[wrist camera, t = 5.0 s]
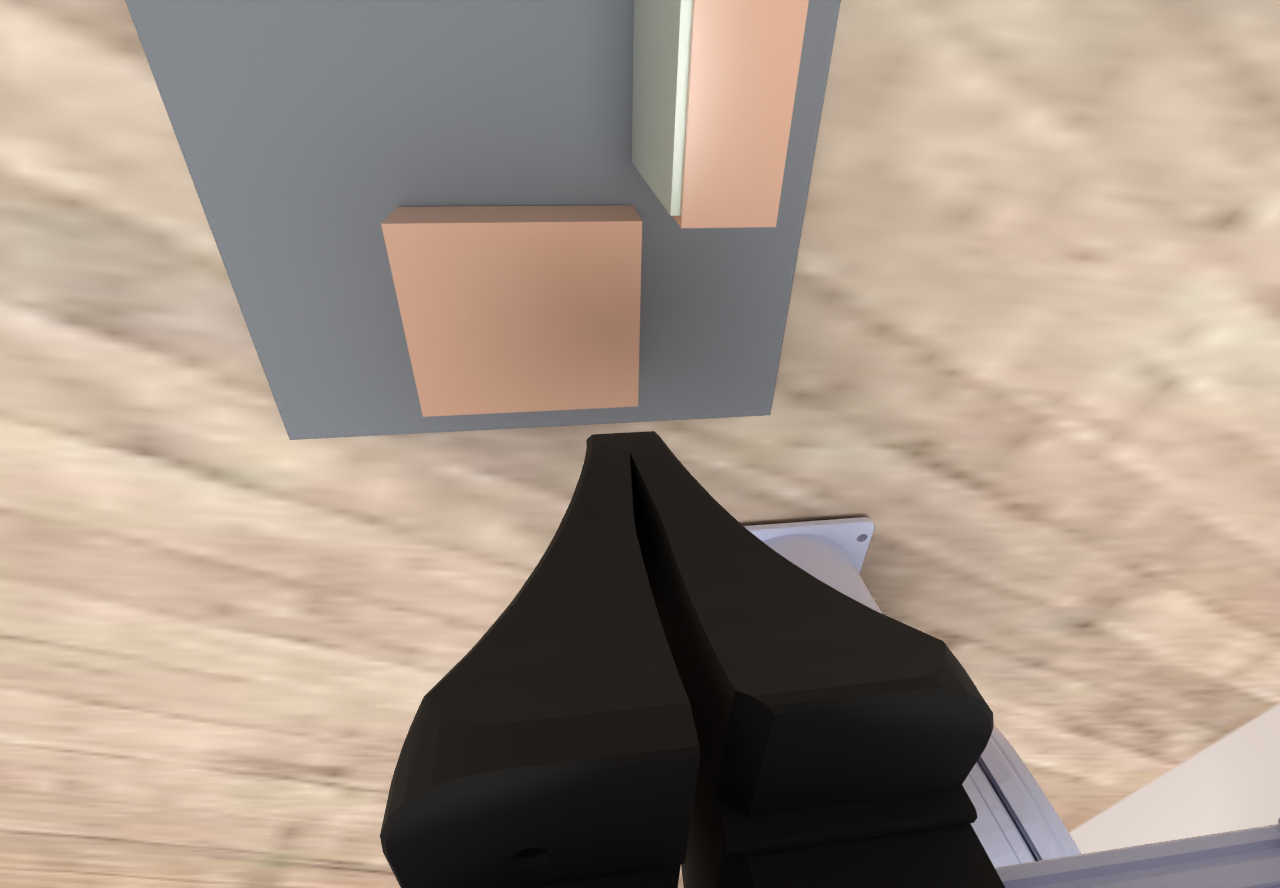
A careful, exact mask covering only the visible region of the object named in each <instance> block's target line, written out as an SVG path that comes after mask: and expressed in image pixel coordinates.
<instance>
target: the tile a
mask: <svg viewBox="0 0 1280 888" xmlns="http://www.w3.org/2000/svg"><path fill="white" fill-rule="evenodd" d="M381 226H382V230H383V235H384V240H385V244H386V249H387V253H388V258H389V263H390V267H391V272H392V276H393V281H394V286H395V290H396V295H397V300H398V304H399V309H400V313H401V318H402V323H403V327H404V332H405V336H406V341H407V346H408V350H409V355H410V360H411V364H412V369H413V373H414V378H415V383H416V387H417V392H418V396H419V401H420V406H421V410H422V415H423V417H429V416H450V415H470V414H491V413H512V412H532V411H553V410H574V409H594V408H615V407H636V406H638V385H639V340H640V296H641V252H642V220H641V218H640V216H639V214H638V213H637V211H636V209H635V207H634V205H579V206H434V207H396V208H395V209H394V210H393V211H392V212H391V214H390V215H389V216H388V217H387V218H386V219H385V220H384V221H383V222H382V223H381Z"/></svg>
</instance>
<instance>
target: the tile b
mask: <svg viewBox="0 0 1280 888" xmlns="http://www.w3.org/2000/svg"><path fill="white" fill-rule="evenodd" d="M808 3H809V0H634V34H633V114H632V163H633V165H634V166H635V167H636V169H637V170H638V171H639V173H640V174H641V176H642V177H643V178H644V180H645V181H646V183H647V184H648V185H649V187H650V188H651V189H652V191H653V192H654V194H655V195H656V196H657V198H658V199H659V200H660V202H661V203H662V205H663V206H664V207H665V209H666V210H667V212H668V213H669V214H670V216H673V217H674V219H675V220H676V222H677V223H678V224H679V226H680V227H681V228H742V227H776V223H777V216H778V209H779V203H780V196H781V189H782V182H783V175H784V168H785V161H786V154H787V148H788V141H789V134H790V127H791V120H792V113H793V106H794V100H795V93H796V86H797V79H798V72H799V65H800V58H801V51H802V45H803V38H804V31H805V24H806V17H807V10H808Z"/></svg>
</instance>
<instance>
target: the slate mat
mask: <svg viewBox="0 0 1280 888" xmlns="http://www.w3.org/2000/svg"><path fill="white" fill-rule="evenodd" d="M125 1H126V4H127V6H128V9H129V12H130V14H131V17H132V20H133V22H134V25H135V28H136V30H137V33H138V36H139V38H140V41H141V44H142V46H143V49H144V52H145V54H146V57H147V60H148V62H149V65H150V68H151V70H152V73H153V76H154V78H155V81H156V84H157V87H158V89H159V92H160V95H161V97H162V100H163V103H164V105H165V108H166V111H167V113H168V116H169V119H170V121H171V124H172V127H173V129H174V132H175V135H176V137H177V140H178V143H179V145H180V148H181V151H182V153H183V156H184V159H185V161H186V164H187V167H188V169H189V172H190V175H191V177H192V180H193V183H194V185H195V188H196V191H197V193H198V196H199V199H200V201H201V204H202V207H203V209H204V212H205V215H206V217H207V220H208V223H209V225H210V228H211V231H212V233H213V236H214V239H215V241H216V244H217V247H218V249H219V252H220V255H221V257H222V260H223V263H224V265H225V268H226V271H227V273H228V276H229V279H230V281H231V284H232V287H233V289H234V292H235V295H236V297H237V300H238V303H239V305H240V308H241V311H242V314H243V316H244V319H245V322H246V324H247V327H248V330H249V332H250V335H251V338H252V340H253V343H254V346H255V348H256V351H257V354H258V356H259V359H260V362H261V364H262V367H263V370H264V372H265V375H266V378H267V380H268V383H269V386H270V388H271V391H272V394H273V396H274V399H275V402H276V404H277V407H278V410H279V412H280V415H281V418H282V420H283V423H284V426H285V428H286V431H287V434H288V436H289V439H290V440H298V439H317V438H336V437H356V436H375V435H394V434H414V433H433V432H453V431H472V430H491V429H511V428H530V427H549V426H569V425H588V424H607V423H627V422H646V421H666V420H685V419H704V418H724V417H743V416H762V415H770V414H771V408H772V402H773V396H774V390H775V384H776V378H777V372H778V366H779V361H780V355H781V349H782V343H783V337H784V331H785V325H786V319H787V313H788V308H789V302H790V296H791V290H792V284H793V278H794V272H795V266H796V260H797V255H798V249H799V243H800V237H801V231H802V225H803V219H804V213H805V207H806V202H807V196H808V190H809V184H810V178H811V172H812V166H813V160H814V154H815V148H816V143H817V137H818V131H819V125H820V119H821V113H822V107H823V101H824V95H825V90H826V84H827V78H828V72H829V66H830V60H831V54H832V48H833V42H834V37H835V31H836V25H837V19H838V13H839V7H840V1H841V0H809V3H808V10H807V17H806V24H805V31H804V38H803V45H802V51H801V58H800V65H799V72H798V79H797V86H796V93H795V100H794V106H793V113H792V120H791V127H790V134H789V141H788V148H787V154H786V161H785V168H784V175H783V182H782V189H781V196H780V203H779V209H778V216H777V223H776V227H742V228H681V227H680V226H679V224H678V223H677V222H676V220H675V219H674V217H673V216H670V214H669V213H668V212H667V210H666V209H665V207H664V206H663V205H662V203H661V202H660V200H659V199H658V198H657V196H656V195H655V194H654V192H653V191H652V189H651V188H650V187H649V185H648V184H647V183H646V181H645V180H644V178H643V177H642V176H641V174H640V173H639V171H638V170H637V169H636V167H635V166H634V165H633V163H632V114H633V34H634V0H125ZM579 205H634V207H635V209H636V211H637V213H638V214H639V216H640V218H641V220H642V252H641V296H640V340H639V385H638V406H636V407H615V408H594V409H574V410H553V411H532V412H512V413H491V414H470V415H450V416H429V417H423V415H422V410H421V406H420V401H419V396H418V392H417V387H416V383H415V378H414V373H413V369H412V364H411V360H410V355H409V350H408V346H407V341H406V336H405V332H404V327H403V323H402V318H401V313H400V309H399V304H398V300H397V295H396V290H395V286H394V281H393V276H392V272H391V267H390V263H389V258H388V253H387V249H386V244H385V240H384V235H383V230H382V226H381V223H382V222H383V221H384V220H385V219H386V218H387V217H388V216H389V215H390V214H391V212H392V211H393V210H394V209H395V208H396V207H434V206H579Z"/></svg>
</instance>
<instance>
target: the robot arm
mask: <svg viewBox="0 0 1280 888" xmlns="http://www.w3.org/2000/svg"><path fill="white" fill-rule="evenodd" d="M873 531H874V524H873V522H872V521H871V519H869V518H867V517H860V518H846V519H833V520H819V521H806V522H793V523H779V524H766V525H753V526H743V525H741V524H740V523H739V522H738V521H737V520H736V519H735V518H734V517H733V516H731V515H730V514H729V513H728V512H727V511H726V510H725V509H724V508H723V507H722V506H721V505H720V504H719V503H718V502H717V501H716V500H715V499H714V498H713V497H712V496H711V495H710V494H709V493H708V492H707V491H706V490H705V489H704V488H703V487H702V486H701V485H700V484H699V483H698V482H697V481H696V479H695V478H694V477H693V476H692V475H691V474H690V473H689V472H688V471H687V470H686V468H685V467H684V466H683V465H682V464H681V462H680V461H679V460H678V459H677V458H676V457H675V455H674V454H673V453H672V452H671V450H670V449H669V448H668V447H667V445H666V444H665V443H664V441H663V440H662V439H661V438H660V436H659V435H658V434H657V433H656V432H654V431H652V432H633V433H614V434H595V435H591V436H590V437H589V438H588V439H587V449H586V456H585V461H584V465H583V468H582V472H581V475H580V478H579V481H578V484H577V486H576V489H575V492H574V494H573V497H572V500H571V502H570V504H569V507H568V509H567V511H566V513H565V515H564V517H563V519H562V521H561V524H560V526H559V528H558V530H557V532H556V534H555V536H554V537H553V539H552V541H551V543H550V545H549V546H548V548H547V550H546V552H545V553H544V555H543V557H542V558H541V560H540V562H539V563H538V565H537V566H536V568H535V569H534V571H533V572H532V574H531V575H530V577H529V578H528V580H527V581H526V583H525V584H524V585H523V587H522V588H521V590H520V591H519V593H518V594H517V595H516V597H515V598H514V599H513V601H512V602H511V603H510V605H509V606H508V607H507V608H506V610H505V611H504V612H503V613H502V614H501V616H500V617H499V618H498V619H497V620H496V621H495V623H494V624H493V625H492V626H491V627H490V629H489V630H488V631H487V632H486V633H485V634H484V636H483V637H482V638H481V639H480V640H479V642H478V643H477V644H476V645H475V646H474V647H473V648H472V649H471V650H470V651H469V652H468V654H467V655H466V656H465V657H464V658H463V659H462V660H461V661H460V662H458V663H457V664H456V665H455V666H454V667H453V668H452V669H451V670H450V671H449V672H448V673H447V674H446V675H445V676H444V677H443V678H442V679H441V680H440V681H439V682H438V683H437V684H436V685H435V686H434V687H433V688H432V689H431V690H430V691H429V692H428V693H427V694H426V695H425V696H424V698H423V700H422V702H421V704H420V706H419V708H418V711H417V713H416V715H415V718H414V720H413V722H412V724H411V727H410V729H409V732H408V734H407V737H406V739H405V742H404V745H403V747H402V750H401V753H400V756H399V759H398V762H397V765H396V768H395V771H394V775H393V778H392V782H391V786H390V791H389V796H388V800H387V805H386V810H385V815H384V820H383V824H382V829H381V834H380V838H381V844H382V849H383V853H384V855H385V857H386V859H387V861H388V863H389V865H390V867H391V869H392V871H393V873H394V875H395V877H396V879H397V881H398V883H399V885H400V887H401V888H677V887H678V880H679V873H680V866H681V867H682V876H683V884H684V888H1280V818H1279V820H1278V824H1277V825H1270V826H1264V827H1258V828H1251V829H1244V830H1238V831H1231V832H1225V833H1218V834H1211V835H1205V836H1198V837H1192V838H1186V839H1179V840H1172V841H1166V842H1159V843H1153V844H1146V845H1140V846H1133V847H1127V848H1121V849H1114V850H1107V851H1101V852H1094V853H1088V854H1081V852H1080V851H1079V849H1078V848H1077V845H1076V844H1075V842H1074V841H1073V839H1072V837H1071V835H1070V834H1069V832H1068V831H1067V829H1066V827H1065V826H1064V824H1063V822H1062V821H1061V819H1060V818H1059V816H1058V814H1057V813H1056V811H1055V810H1054V808H1053V806H1052V805H1051V803H1050V802H1049V800H1048V799H1047V797H1046V796H1045V794H1044V792H1043V791H1042V789H1041V788H1040V786H1039V785H1038V783H1037V782H1036V780H1035V779H1034V777H1033V776H1032V774H1031V773H1030V771H1029V770H1028V768H1027V767H1026V765H1025V764H1024V763H1023V761H1022V760H1021V758H1020V757H1019V755H1018V754H1017V753H1016V751H1015V750H1014V748H1013V747H1012V746H1011V744H1010V743H1009V742H1008V740H1007V739H1006V738H1005V737H1004V735H1003V734H1002V733H1001V732H1000V731H999V729H998V728H997V727H995V726H994V725H993V712H992V711H991V709H990V708H989V706H988V705H987V703H986V702H985V700H984V699H983V697H982V696H981V694H980V693H979V691H978V690H977V688H976V686H975V685H974V683H973V682H972V680H971V678H970V677H969V675H968V674H967V672H966V671H965V669H964V668H963V667H962V665H961V664H960V663H959V661H958V660H957V659H956V657H955V656H954V655H953V654H952V652H951V651H950V650H949V648H948V647H947V646H946V644H945V643H944V642H943V641H941V640H939V639H937V638H935V637H932V636H930V635H928V634H926V633H923V632H921V631H919V630H917V629H915V628H912V627H910V626H908V625H906V624H903V623H901V622H899V621H897V620H895V619H892V618H890V617H888V616H886V615H883V614H882V612H881V610H880V609H879V607H878V605H877V604H876V602H875V600H874V598H873V597H872V595H871V593H870V592H869V590H868V588H867V587H866V585H865V583H864V582H863V580H862V578H861V576H860V575H859V574H860V571H861V568H862V565H863V562H864V558H865V555H866V552H867V549H868V546H869V543H870V540H871V537H872V534H873ZM861 534H862V535H861ZM859 535H860V536H859Z"/></svg>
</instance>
